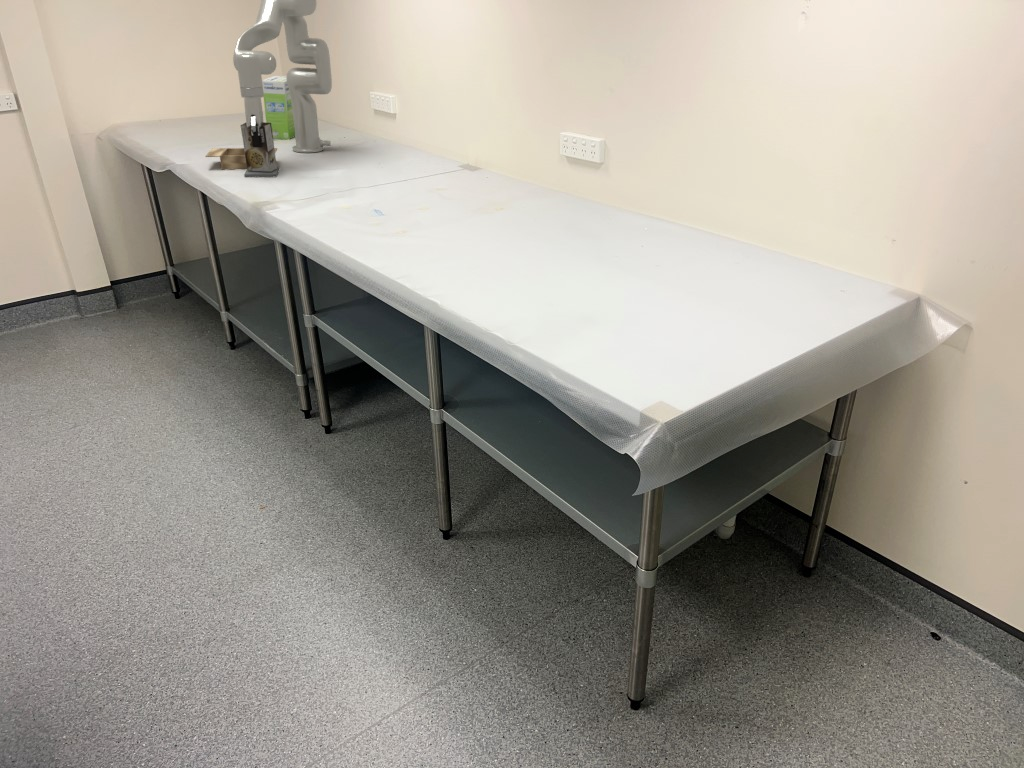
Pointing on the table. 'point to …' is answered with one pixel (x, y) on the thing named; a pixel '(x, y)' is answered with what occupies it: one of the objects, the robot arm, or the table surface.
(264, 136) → the coffee box
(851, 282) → the table surface
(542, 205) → the table surface
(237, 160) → the carton
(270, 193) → the table surface
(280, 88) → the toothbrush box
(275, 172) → the mat
